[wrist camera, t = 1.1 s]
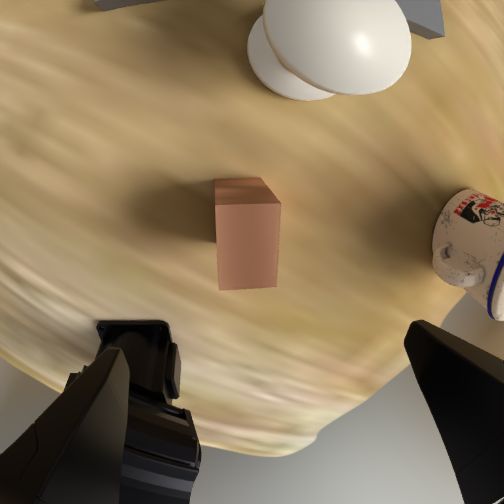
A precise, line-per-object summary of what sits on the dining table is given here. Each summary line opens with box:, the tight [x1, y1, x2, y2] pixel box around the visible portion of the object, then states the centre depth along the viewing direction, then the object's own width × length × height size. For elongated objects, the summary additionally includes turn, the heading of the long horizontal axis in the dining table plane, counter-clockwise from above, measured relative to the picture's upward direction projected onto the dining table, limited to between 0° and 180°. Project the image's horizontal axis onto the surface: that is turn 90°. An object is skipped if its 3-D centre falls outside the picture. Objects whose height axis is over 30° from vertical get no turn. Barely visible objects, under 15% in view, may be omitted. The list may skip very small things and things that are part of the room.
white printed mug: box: [432, 189, 504, 321], centre depth 17 cm, size 12×9×12 cm
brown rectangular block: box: [214, 178, 281, 290], centre depth 17 cm, size 3×4×6 cm, turn 179°
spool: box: [247, 0, 411, 101], centre depth 12 cm, size 7×7×7 cm
